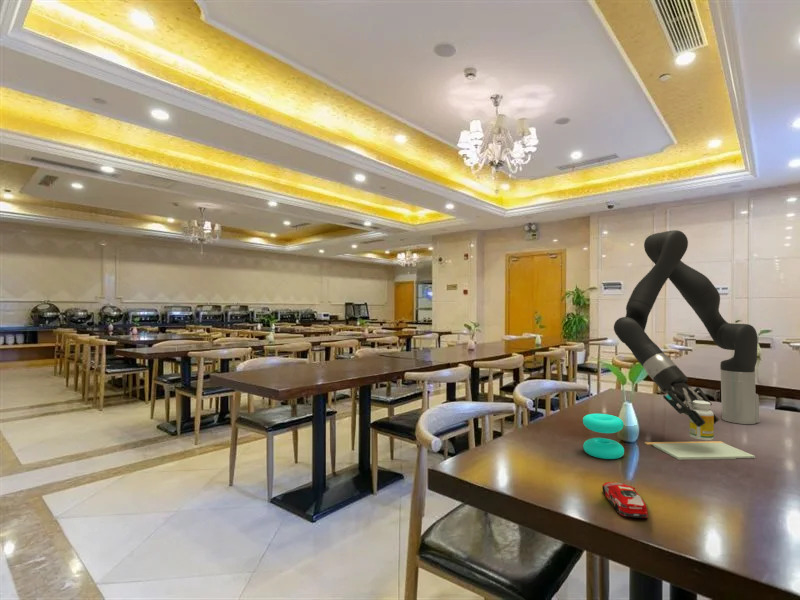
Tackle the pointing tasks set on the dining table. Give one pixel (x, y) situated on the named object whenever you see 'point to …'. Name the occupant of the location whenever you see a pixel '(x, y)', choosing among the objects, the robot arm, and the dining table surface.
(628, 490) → the race car
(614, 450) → the donuts
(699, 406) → the supplement bottle
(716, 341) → the robot arm
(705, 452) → the mat
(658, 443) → the strip
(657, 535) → the dining table surface
